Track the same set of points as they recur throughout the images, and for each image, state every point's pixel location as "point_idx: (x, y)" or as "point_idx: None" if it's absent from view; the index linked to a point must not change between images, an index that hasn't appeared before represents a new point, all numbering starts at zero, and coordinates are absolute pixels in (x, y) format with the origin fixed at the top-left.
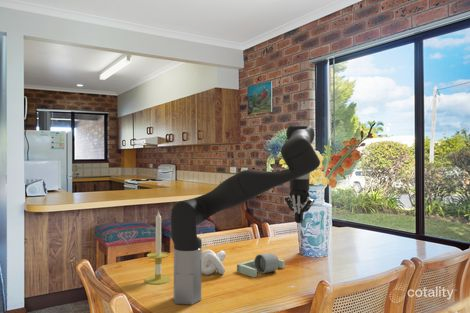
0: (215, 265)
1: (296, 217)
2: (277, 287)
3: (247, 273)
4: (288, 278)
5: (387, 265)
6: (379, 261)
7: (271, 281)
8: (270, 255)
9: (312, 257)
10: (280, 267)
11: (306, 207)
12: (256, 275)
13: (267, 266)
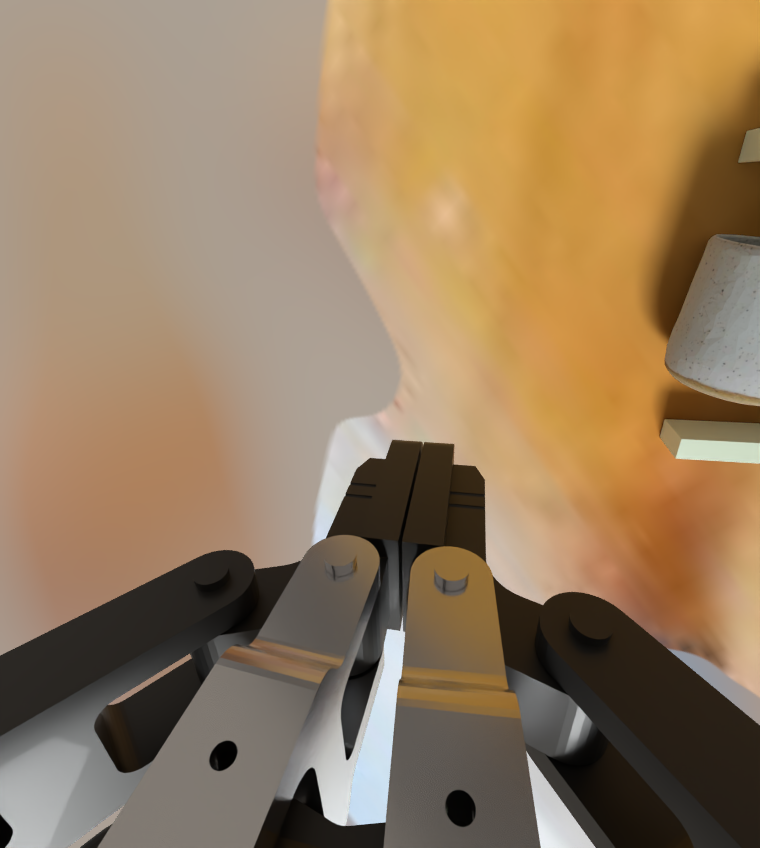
0: None
1: (429, 487)
2: (496, 113)
3: None
4: (536, 302)
5: None
6: (374, 708)
7: (591, 172)
8: (756, 342)
9: None
10: (682, 420)
11: (32, 645)
12: (743, 157)
13: (708, 254)
